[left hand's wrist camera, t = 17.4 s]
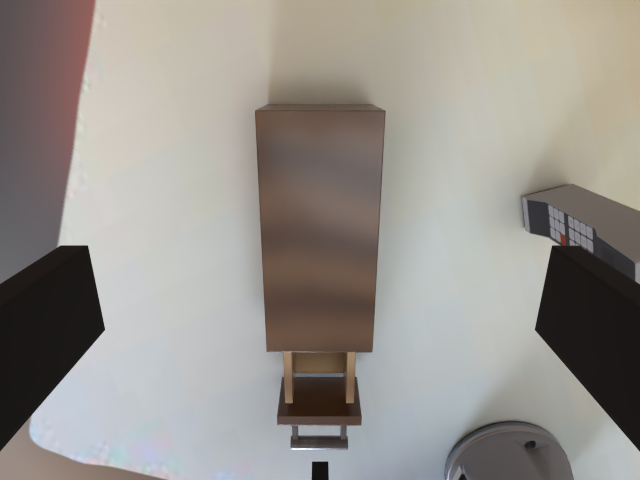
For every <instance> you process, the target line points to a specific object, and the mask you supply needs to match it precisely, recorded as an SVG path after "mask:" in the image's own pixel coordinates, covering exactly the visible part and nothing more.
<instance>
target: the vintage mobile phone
mask: <svg viewBox="0 0 640 480" xmlns="http://www.w3.org/2000/svg"><path fill="white" fill-rule="evenodd" d="M522 201H523V211H524V221H525V230H526V231H527V232H529V233H530V234H535V235H539V236H544V237H548V238H550V239H552V240H553V241H554V242H556V243H557V244H559V245H560V246H581V247H582V248H584V249H585V250H587V251H589V252H590V253H592V254H593V255H595V256H596V257H598V258H600V259H601V260H603V261H604V262H606V263H607V264H609V265H611V266H612V267H614V268H615V269H617V270H618V271H620V272H622V273H623V274H625V275H626V276H628V277H629V278H631V279H633V280H634V281H636V282H637V283H639V284H640V211H637V210H635V209H632V208H630V207H628V206H625V205H623V204H620V203H618V202H615V201H613V200H610V199H608V198H606V197H603V196H601V195H598V194H596V193H593V192H591V191H588V190H586V189H584V188H581V187H579V186H576V185H574V184H570V185H566V186H562V187H558V188H554V189H550V190H546V191H542V192H538V193H534V194H530V195H526V196H522Z"/></svg>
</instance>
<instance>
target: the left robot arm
mask: <svg viewBox="0 0 640 480" xmlns="http://www.w3.org/2000/svg"><path fill="white" fill-rule="evenodd" d="M104 330H105V327H104V322H103V317H102V312H101V308H100V303H99V298H98V293H97V288H96V283H95V278H94V273H93V268H92V264H91V259H90V254H89V249H88V246H59V247H58V248H56V249H55V250H53V251H51V252H50V253H48V254H47V255H45V256H44V257H42V258H40V259H39V260H37V261H36V262H34V263H33V264H31V265H30V266H28V267H26V268H25V269H23V270H22V271H20V272H18V273H17V274H15V275H14V276H12V277H11V278H9V279H7V280H6V281H4V282H3V283H1V284H0V451H1V450H2V449H3V447H4V446H5V445H6V444H7V443H8V442H9V441H10V439H11V438H12V437H13V436H14V435H15V434H16V432H17V431H18V430H19V429H20V428H21V427H22V425H23V424H24V423H25V422H26V421H27V420H28V418H29V417H30V416H31V415H32V414H33V413H34V412H35V410H36V409H37V408H38V407H39V406H40V405H41V403H42V402H43V401H44V400H45V399H46V398H47V396H48V395H49V394H50V393H51V392H52V391H53V390H54V388H55V387H56V386H57V385H58V384H59V383H60V381H61V380H62V379H63V378H64V377H65V376H66V374H67V373H68V372H69V371H70V370H71V369H72V368H73V366H74V365H75V364H76V363H77V362H78V361H79V359H80V358H81V357H82V356H83V355H84V354H85V352H86V351H87V350H88V349H89V348H90V347H91V345H92V344H93V343H94V342H95V341H96V340H97V339H98V337H99V336H100V335H101V334H102V333H103V332H104ZM535 330H536V332H537V333H538V334H539V335H540V336H541V337H542V339H543V340H544V341H545V342H546V343H547V344H548V345H549V347H550V348H551V349H552V350H553V351H554V352H555V354H556V355H557V356H558V357H559V358H560V359H561V361H562V362H563V363H564V364H565V365H566V366H567V368H568V369H569V370H570V371H571V372H572V373H573V374H574V376H575V377H576V378H577V379H578V380H579V381H580V383H581V384H582V385H583V386H584V387H585V388H586V390H587V391H588V392H589V393H590V394H591V395H592V396H593V398H594V399H595V400H596V401H597V402H598V403H599V405H600V406H601V407H602V408H603V409H604V410H605V412H606V413H607V414H608V415H609V416H610V417H611V419H612V420H613V421H614V422H615V423H616V424H617V425H618V427H619V428H620V429H621V430H622V431H623V432H624V434H625V435H626V436H627V437H628V438H629V439H630V441H631V442H632V443H633V444H634V445H635V446H636V448H637V449H638V450H639V451H640V284H639V283H637V282H636V281H634V280H633V279H631V278H629V277H628V276H626V275H625V274H623V273H622V272H620V271H618V270H617V269H615V268H614V267H612V266H611V265H609V264H607V263H606V262H604V261H603V260H601V259H600V258H598V257H596V256H595V255H593V254H592V253H590V252H589V251H587V250H585V249H584V248H582V247H581V246H552V249H551V254H550V259H549V264H548V268H547V273H546V278H545V283H544V288H543V293H542V298H541V303H540V308H539V312H538V317H537V322H536V327H535Z"/></svg>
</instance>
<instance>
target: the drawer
mask: <svg viewBox="0 0 640 480" xmlns="http://www.w3.org/2000/svg"><path fill="white" fill-rule="evenodd" d="M283 354H284V377H282V383H281V390H280V398H279V406H278V414H277V424H278V425H292V436H291V450H347V449H348V437H347V436H346V425H361V419H362V416H361V408H360V400H359V392H358V384H357V377H355V357H356V352H283ZM295 373H344V377H295ZM298 425H341V433H340V436H298Z"/></svg>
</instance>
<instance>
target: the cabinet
mask: <svg viewBox="0 0 640 480" xmlns="http://www.w3.org/2000/svg"><path fill="white" fill-rule="evenodd" d="M255 120H256V140H257V161H258V181H259V202H260V222H261V243H262V263H263V284H264V304H265V325H266V345H267V352H372V349H373V330H374V312H375V293H376V275H377V257H378V238H379V220H380V201H381V183H382V164H383V146H384V128H385V111H384V110H382V109H380V108H378V107H376V106H374V105H304V104H268V105H266V106H264V107H261V108H259V109H257V110H255Z"/></svg>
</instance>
